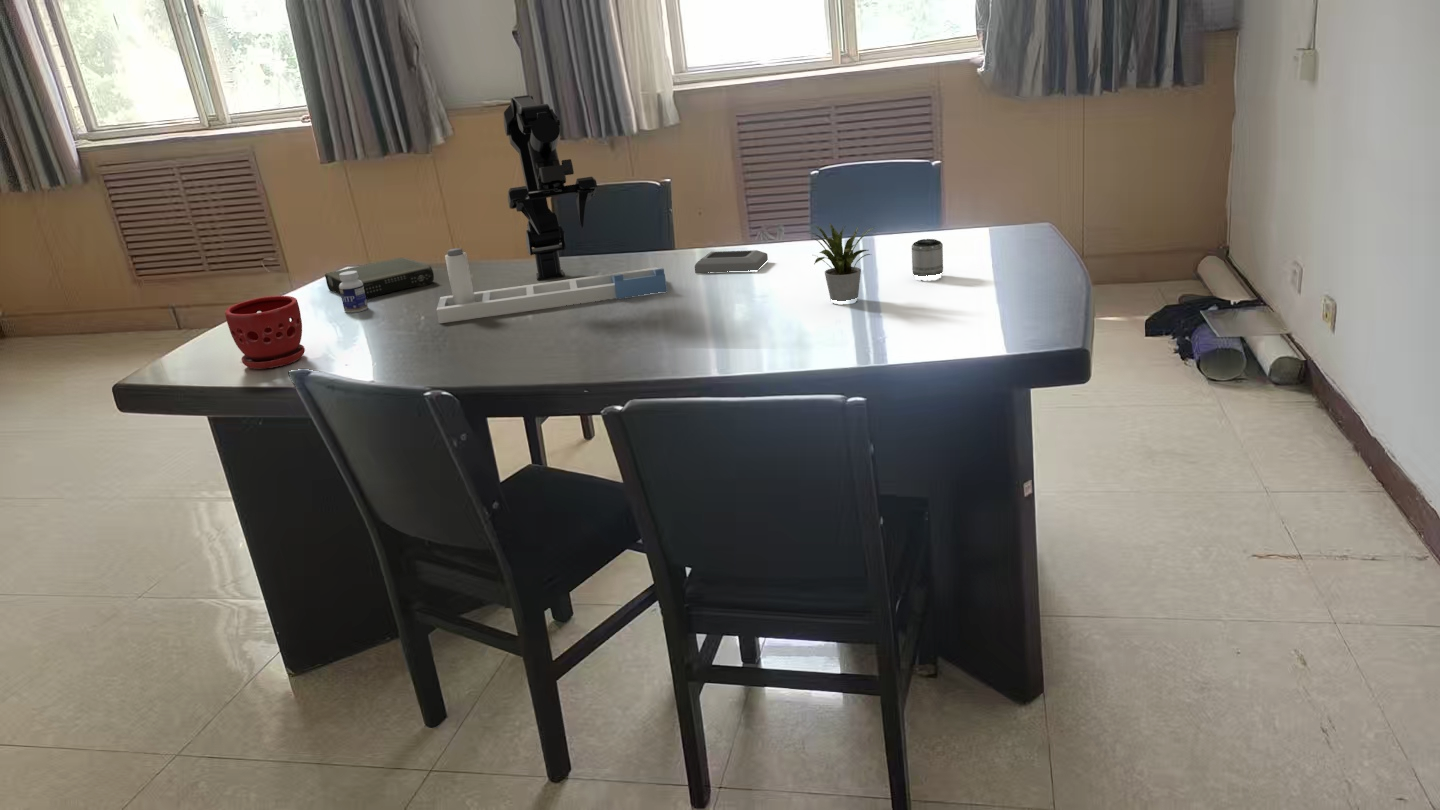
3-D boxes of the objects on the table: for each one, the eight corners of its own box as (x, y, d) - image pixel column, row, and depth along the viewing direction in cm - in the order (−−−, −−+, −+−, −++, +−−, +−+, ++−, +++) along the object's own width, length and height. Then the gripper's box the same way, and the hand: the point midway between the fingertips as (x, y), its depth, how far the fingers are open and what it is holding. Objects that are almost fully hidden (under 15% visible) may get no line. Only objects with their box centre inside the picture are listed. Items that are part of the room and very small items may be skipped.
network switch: (402, 273, 271) (398, 255, 269) (447, 282, 255) (443, 262, 253) (318, 294, 256) (314, 275, 254) (360, 305, 240) (355, 284, 238)
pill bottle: (339, 313, 232) (331, 275, 229) (355, 306, 237) (346, 269, 234) (358, 313, 230) (349, 275, 227) (373, 307, 235) (364, 269, 232)
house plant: (787, 306, 200) (781, 224, 194) (829, 289, 209) (824, 210, 203) (846, 314, 190) (841, 228, 185) (887, 296, 199) (884, 214, 194)
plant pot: (225, 372, 195) (208, 313, 191) (275, 351, 206) (260, 294, 202) (277, 374, 190) (261, 313, 186) (325, 352, 201) (311, 294, 197)
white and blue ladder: (443, 309, 225) (438, 287, 224) (659, 279, 232) (656, 257, 231) (438, 324, 213) (434, 300, 212) (667, 292, 220) (664, 269, 218)
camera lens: (920, 273, 214) (919, 237, 211) (948, 275, 211) (947, 238, 208) (907, 280, 210) (906, 243, 207) (935, 282, 206) (934, 244, 203)
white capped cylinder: (456, 312, 222) (444, 249, 218) (477, 309, 223) (465, 246, 218) (455, 317, 218) (443, 253, 213) (476, 314, 219) (464, 250, 214)
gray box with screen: (755, 258, 229) (693, 259, 234) (757, 273, 230) (695, 275, 235) (766, 248, 237) (706, 250, 242) (768, 264, 239) (708, 265, 243)
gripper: (503, 152, 207) (519, 225, 205) (592, 141, 212) (608, 211, 210) (501, 172, 217) (516, 241, 216) (586, 161, 222) (601, 228, 221)
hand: (560, 230), depth 215 cm, fingers open, 9 cm apart
